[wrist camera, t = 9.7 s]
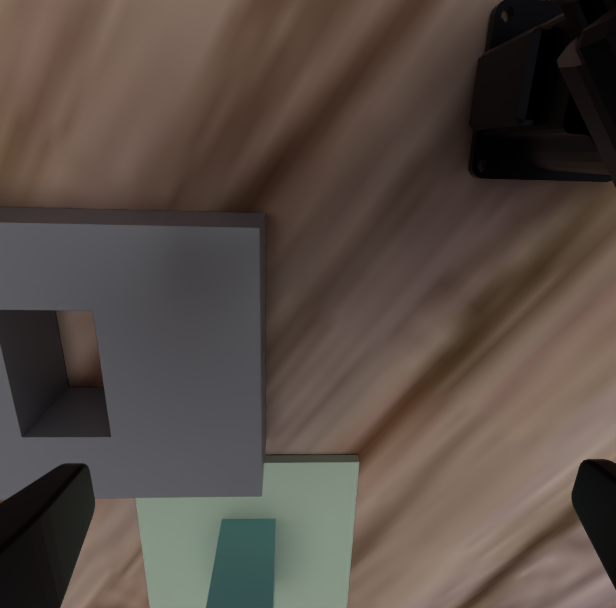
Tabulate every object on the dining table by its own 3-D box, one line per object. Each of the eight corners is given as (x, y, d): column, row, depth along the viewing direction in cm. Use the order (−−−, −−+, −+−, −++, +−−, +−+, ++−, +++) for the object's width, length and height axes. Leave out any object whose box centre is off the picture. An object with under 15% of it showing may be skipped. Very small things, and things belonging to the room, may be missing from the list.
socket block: (265, 213, 19) (259, 228, 15) (266, 440, 23) (261, 496, 19) (-115, 204, 18) (-221, 217, 14) (-46, 441, 22) (-114, 500, 18)
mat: (357, 454, 24) (359, 462, 23) (344, 608, 27) (346, 618, 27) (134, 456, 23) (131, 463, 22) (155, 613, 27) (152, 623, 26)
